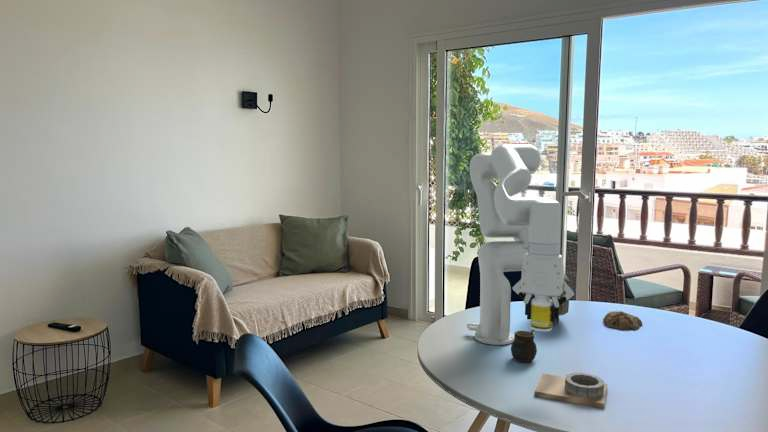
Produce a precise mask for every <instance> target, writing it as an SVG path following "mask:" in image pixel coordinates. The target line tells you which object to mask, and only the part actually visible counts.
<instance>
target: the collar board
mask: <svg viewBox="0 0 768 432" xmlns="http://www.w3.org/2000/svg"><path fill="white" fill-rule="evenodd" d="M607 391H608V383H605V380H603V379H602V378H601V377H599V376H596V375H594V374H591V373H586V372H585V373H584V372H571V373H569V374H567V375H565V376H560V375H555V374H548V373H542V374H541V376H540V378H539V380H538V382H537V385H536V387H535V389H534V397H540V398H543V399H544V398H546V399H550V400H556V401H561V402H565V403H566V402H567V403H572V404H578V405H582V406H588V407H594V408H598V409H605V405H606V398H607V393H608V392H607Z"/></svg>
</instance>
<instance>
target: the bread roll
mask: <svg viewBox="0 0 768 432" xmlns="http://www.w3.org/2000/svg"><path fill="white" fill-rule="evenodd" d="M602 322H603V324H604V326H605V327H607V328H615V329H618V330H619V331H636V330H639V329H640V328H641V327H643V321H642V320H641V318H639V316H636V315H632V314H631V313H627V312H624V311H622V310H621V311H620V310H619V311H618V310H615V311H610V312H607V313H606V314H605V315H604V317H603V319H602Z"/></svg>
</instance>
